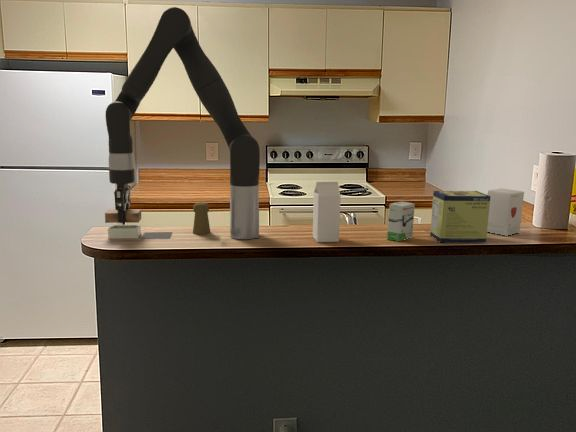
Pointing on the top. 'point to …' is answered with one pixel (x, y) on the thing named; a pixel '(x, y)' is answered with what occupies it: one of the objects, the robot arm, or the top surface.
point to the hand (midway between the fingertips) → (123, 220)
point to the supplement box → (505, 211)
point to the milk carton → (326, 212)
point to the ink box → (400, 221)
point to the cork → (201, 219)
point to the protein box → (460, 216)
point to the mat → (157, 235)
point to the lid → (131, 216)
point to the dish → (124, 231)
